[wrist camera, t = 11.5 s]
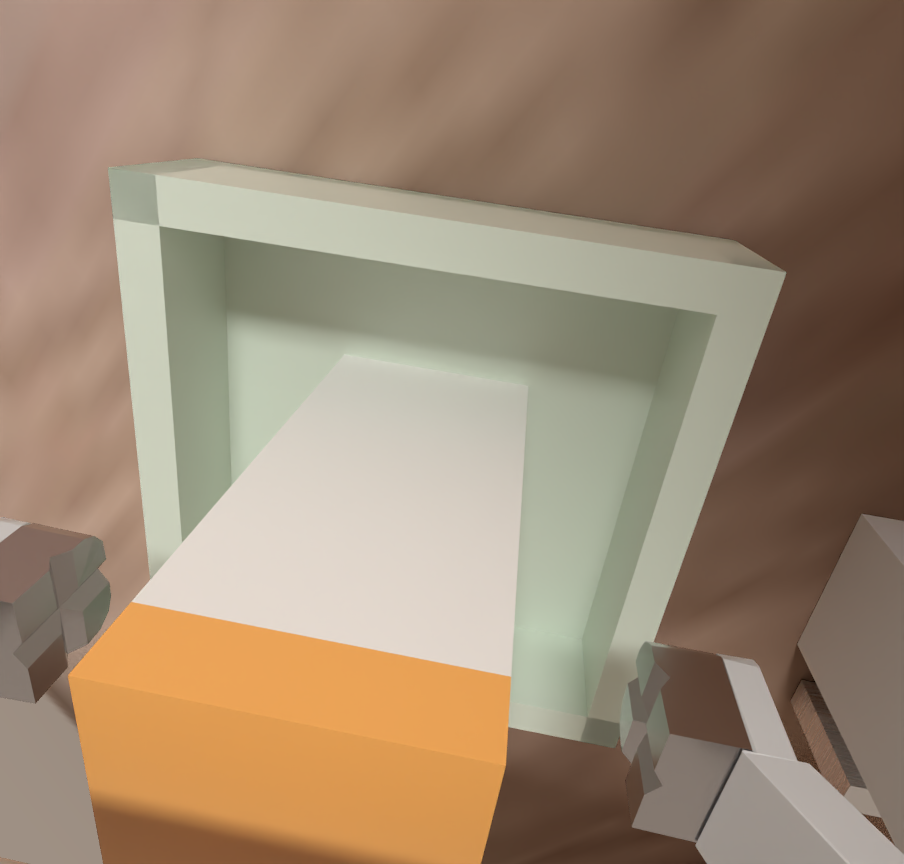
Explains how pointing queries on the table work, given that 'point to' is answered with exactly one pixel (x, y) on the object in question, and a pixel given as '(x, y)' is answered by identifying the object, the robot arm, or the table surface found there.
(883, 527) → the block
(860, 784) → the rail
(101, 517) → the table surface
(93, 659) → the block
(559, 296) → the tray
